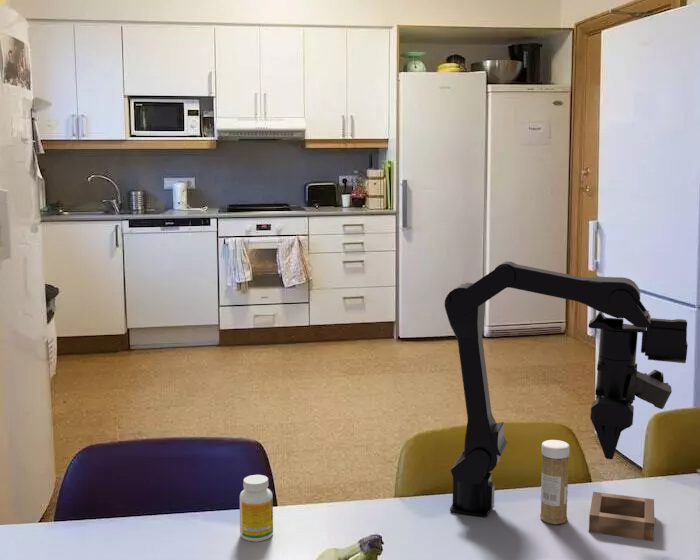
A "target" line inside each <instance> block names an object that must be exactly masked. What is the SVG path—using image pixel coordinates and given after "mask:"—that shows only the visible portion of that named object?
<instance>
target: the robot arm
mask: <svg viewBox="0 0 700 560" xmlns="http://www.w3.org/2000/svg"><path fill="white" fill-rule="evenodd" d="M507 288H510V289H515V290H519V291H524V292H525V291H526V292H531V293H535V294H540V295H545V296H549V297H554V298H559V299H564V300H568V301H572V302H577V303H580V304H582V305H585V306H587V307H589V308H591V309H593V310H595V311H598V314H597V315H596V316H595V317H593V318H592V319H591V320H589V322H588V328H589V329H595V330H597V329H598V330H599V331H600V332H599V342H598V343H599V345H598V357H597V358H598V360H597V364H596V365H597V366H596V368H597V369H596V371H597V376H596V384H595V385H596V387H595V395H594V396H595V400H593V401H592V403H591V407H590V420H591V423H592V425H593V428H594V431H595V433H596V435H597V439H598V442H599V443H600V447H601V450H602V453H603V454H604V458H605V459H606V460H613V459H614V456H615V453H616V450H617V446H618V443H619V441H620V440H619V439H620V437H621V434H622V432H623V431H624V430H626V429H630V428H631V427H632V426H633V423H634V412H635V411H634V409H635V408H634V405H633V403H634V401H636V399H635V398H636V397H637V398H639V399H640V400H642V401H645V402H647V403H649V404H651V405H653V406H654V408H657V409H660V410H663V409H664V408H665V406H666V404H667V402H668V400H669V398H670V397H671V394H672V392H673V391H672V386H671V385H670V384H669V383H668V382H665V378H664V373H663V372H661V371H659V370H657V369H653V370H652V371H650V372H649V373H648V374H647V373H646V372H644V373H643V372H640V371H638V363H636V361H637V347H638V334H639V333H641V346H640V347H641V348H640V353H641V354H644V356H645V357H647V361H657V362H658V361H659V362H666V363H667V362H668V363H678V364H679V363H680V364H686V363H687V362H686V361H687V356H688V340H687V338H688V336H687V335H688V320H686V319H683V318H681V319H680V318H677V319H666V318H653V317H652V315H650V313H649V310H647V309H646V307H645V306H644V304H643V302H642V301H641V292H640V291H641V290H640V288H639V287H638V284H637V283H636V282H635V281H633V280H632V279H630V278H628V277H621V276H620V277H617V276H615V277H614V276H601V277H600V276H597V277H596V276H595V277H587V276H586V277H585V276H584V277H582V276H577V275H573V274H567V273H563V272H562V273H561V272H558V271H552V270H548V269H542V268H537V267H533V266H527V265H522V264H517V263H515V262H512V261H507V260H506V261H504V262H501V263H500V264H498V265H497V266H496V267H495V269H493V270H492V271H490V272H489V273H487V274H486V275H484V276H483V277H482V278H480V279H478V280H477V281H475V282H465V283H461V284H459V285H458V286H457V287H455V288H454V289H452V290H451V291H450V292H449V293H448V294H447V295H446V297H445V299H444V309H445V312H446V316H447V319H448V323H449V325H450V328H451V330H452V331H453V333H454V335H455V339H456V341H457V345H458V347H457V348H458V353H459V361H460V362H459V363H460V370H461V378H462V385H463V386H462V387H463V392H464V394H463V395H464V401H465V410H466V415H467V416H466V417H467V420H466V421H467V423H466V428H465V435H464V446H463V447H464V449H463V451H462V452H461V453H460V455H459V456H458V457H457V459H456V460H455V462H454V465H453V466H452V467H451V469H450V472H451V475H452V504H451V506H450V508H449V512H451V513H455V514H464V515H468V516H469V515H470V516H477V517H484V518H485V517H488V515H489V513H490V511H491V510H493V507H494V506H495V488H496V487H495V482H494V481H492V478H493V475H492V471H493V470H494V469H495V468H496V467H497V465H498V463H499V461H500V459H501V456H502V455H503V453H504V451H505V448H506V446H507V445H508V441H507V440H506V437H505V423H504V421H502V422H497V421H496V419H495V418H494V415H493V413H492V406H491V405H492V404H491V399H490V398H491V397H490V390H489V389H490V388H489V382H488V374H487V367H486V366H487V365H486V358H485V357H486V356H485V349H484V342H483V341H484V340H483V332H484V331H483V330H484V322H485V317H486V316H485V315H486V302H488V301H489V300H491V299H492V298H493V297H495V296H497V295H498V294H499V293H500V292H502V291H503V290H505V289H507ZM605 315H607V316H609V317H606V316H605ZM624 319H625V320H626V321H627V322H629V323H630V324H629V323H624Z"/></svg>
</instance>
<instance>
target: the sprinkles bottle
mask: <svg viewBox="0 0 700 560" xmlns="http://www.w3.org/2000/svg"><path fill="white" fill-rule="evenodd" d="M570 450H571V449H570V444H569V443H567V442H566V441H563V440H558V439H547V440H544V441H542V443H541V457H542V459H541V463H542V464H541V479H540V480H541V481H540V482H541V483H540V486H541V488H540V503H541V504H540V506H541V507H540V514H539V515H540V516H539V517H540V519H541V520H542V521H543V522H545V523H547V524H552V525H561V524H565V523H566V522H567V521H568V514H567V511H568V506H567V505H568V489H569V488H568V487H569V485H568V484H569V483H568V481H569V477H568V474H569V472H568V471H569V458H570Z"/></svg>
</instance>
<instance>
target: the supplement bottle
mask: <svg viewBox="0 0 700 560" xmlns="http://www.w3.org/2000/svg"><path fill="white" fill-rule="evenodd" d="M242 484H243V486H242V487H243V490H242V491H241V492H240V494H239V534H240V537H241V538H242V539H244V540H245V541H249V542H255V543H256V542H263V541H265V540H268V539H270V538H271V537H272V536H273V534H274V511H273V510H274V507H273V505H274V503H273V501H274V499H273V492H272V490H271V489H270V488H268V487H269V484H270V483H269V477H267V476H266V475H263V474H253V475H248V476H245V477H244V478H243V483H242Z"/></svg>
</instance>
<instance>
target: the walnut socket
mask: <svg viewBox="0 0 700 560" xmlns="http://www.w3.org/2000/svg"><path fill="white" fill-rule="evenodd" d="M589 509H590V510H589V516H588V517H589V518H588V519H589V520H588V533H594V534H601V535H608V536H614V537H615V536H616V537H621V538H628V539H635V540H643V541H648V542H654V541H655V538H654V537H655V522H656V520H655V499H654V498H646V497H640V496H639V497H637V496H631V495H623V494H615V493H605V492H601V491H600V492H598V491H592V497H591V502H590V508H589Z"/></svg>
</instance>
